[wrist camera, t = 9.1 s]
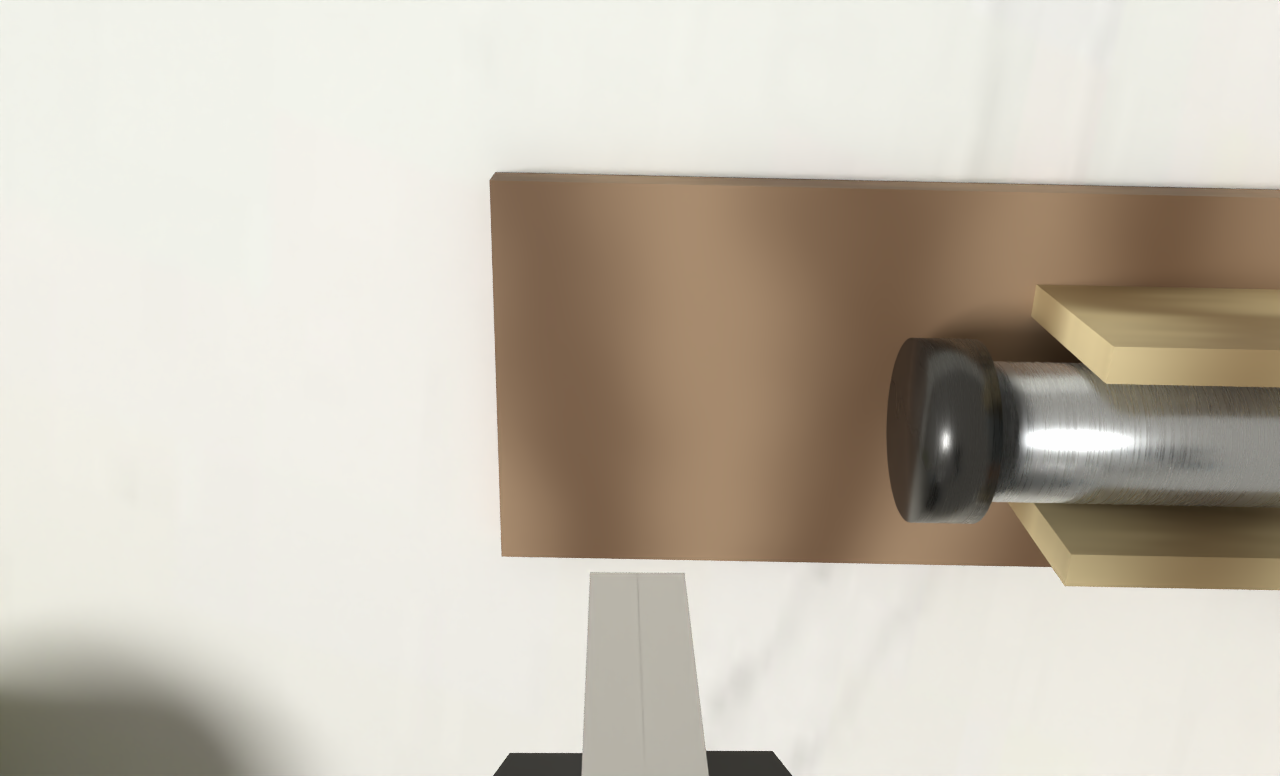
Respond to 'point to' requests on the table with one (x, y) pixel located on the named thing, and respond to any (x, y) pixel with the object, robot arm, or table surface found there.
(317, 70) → the table surface
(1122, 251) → the base
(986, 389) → the tube
